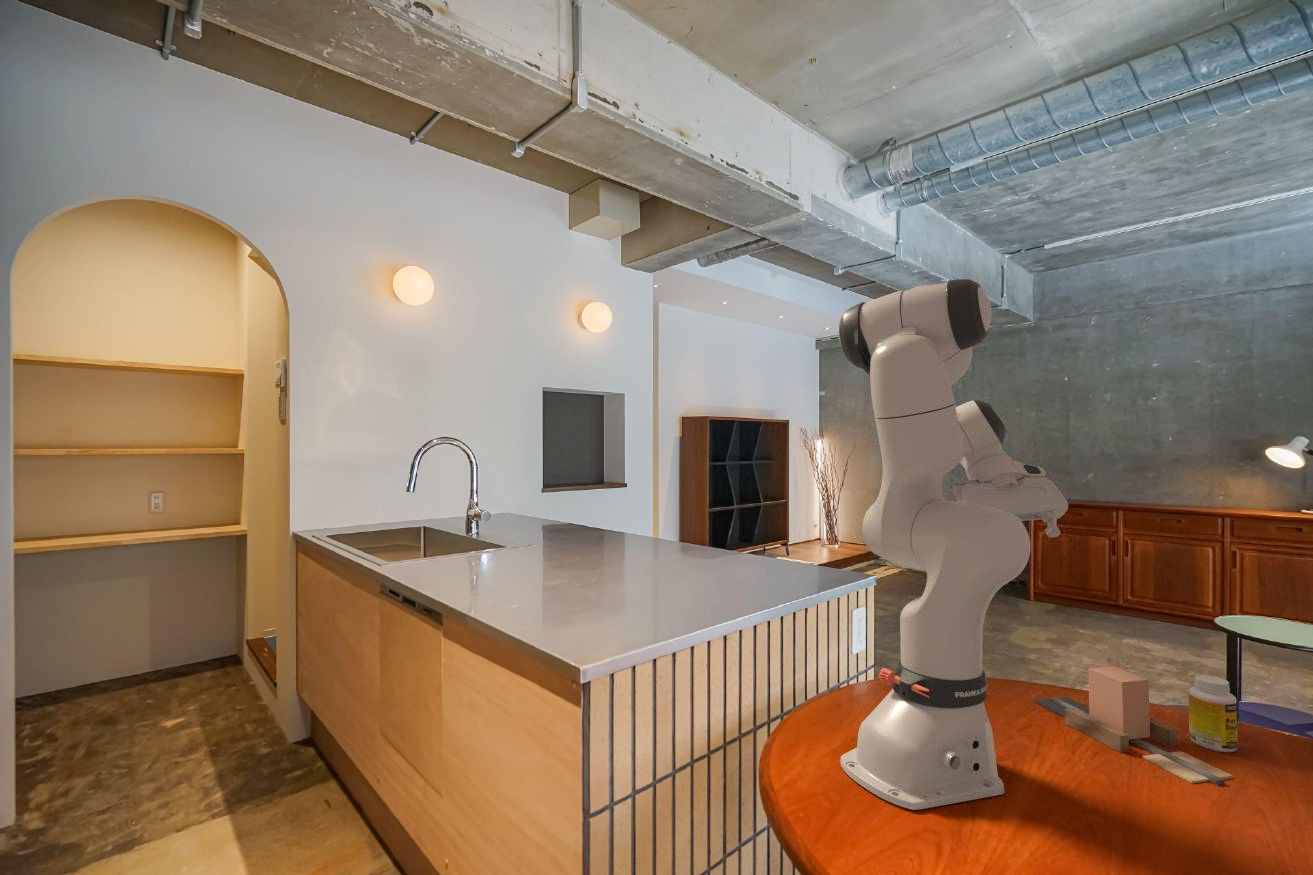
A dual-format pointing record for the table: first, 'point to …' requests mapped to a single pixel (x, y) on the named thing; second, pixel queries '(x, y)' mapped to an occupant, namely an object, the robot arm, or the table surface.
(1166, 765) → the mat
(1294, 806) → the table surface
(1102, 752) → the table surface
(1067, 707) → the track
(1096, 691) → the block
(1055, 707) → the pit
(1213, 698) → the supplement bottle
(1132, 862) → the table surface
